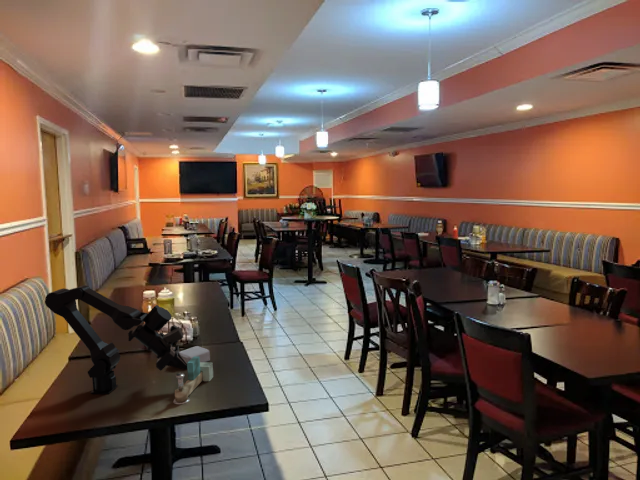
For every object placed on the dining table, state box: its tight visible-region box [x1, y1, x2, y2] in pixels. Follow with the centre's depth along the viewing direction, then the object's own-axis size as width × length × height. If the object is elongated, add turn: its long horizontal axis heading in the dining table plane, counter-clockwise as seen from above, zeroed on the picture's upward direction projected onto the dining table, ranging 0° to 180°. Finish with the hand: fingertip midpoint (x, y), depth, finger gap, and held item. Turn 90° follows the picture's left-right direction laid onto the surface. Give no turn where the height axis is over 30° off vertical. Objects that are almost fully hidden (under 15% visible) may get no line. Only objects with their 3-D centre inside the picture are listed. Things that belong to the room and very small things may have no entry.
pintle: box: [172, 372, 191, 405], centre depth 151 cm, size 5×5×9 cm
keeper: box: [200, 361, 214, 382], centre depth 168 cm, size 6×4×5 cm
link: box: [174, 356, 203, 402], centre depth 159 cm, size 21×4×9 cm, turn 173°
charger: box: [179, 345, 211, 363], centre depth 182 cm, size 5×9×15 cm
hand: (186, 367), depth 161 cm, fingers closed
